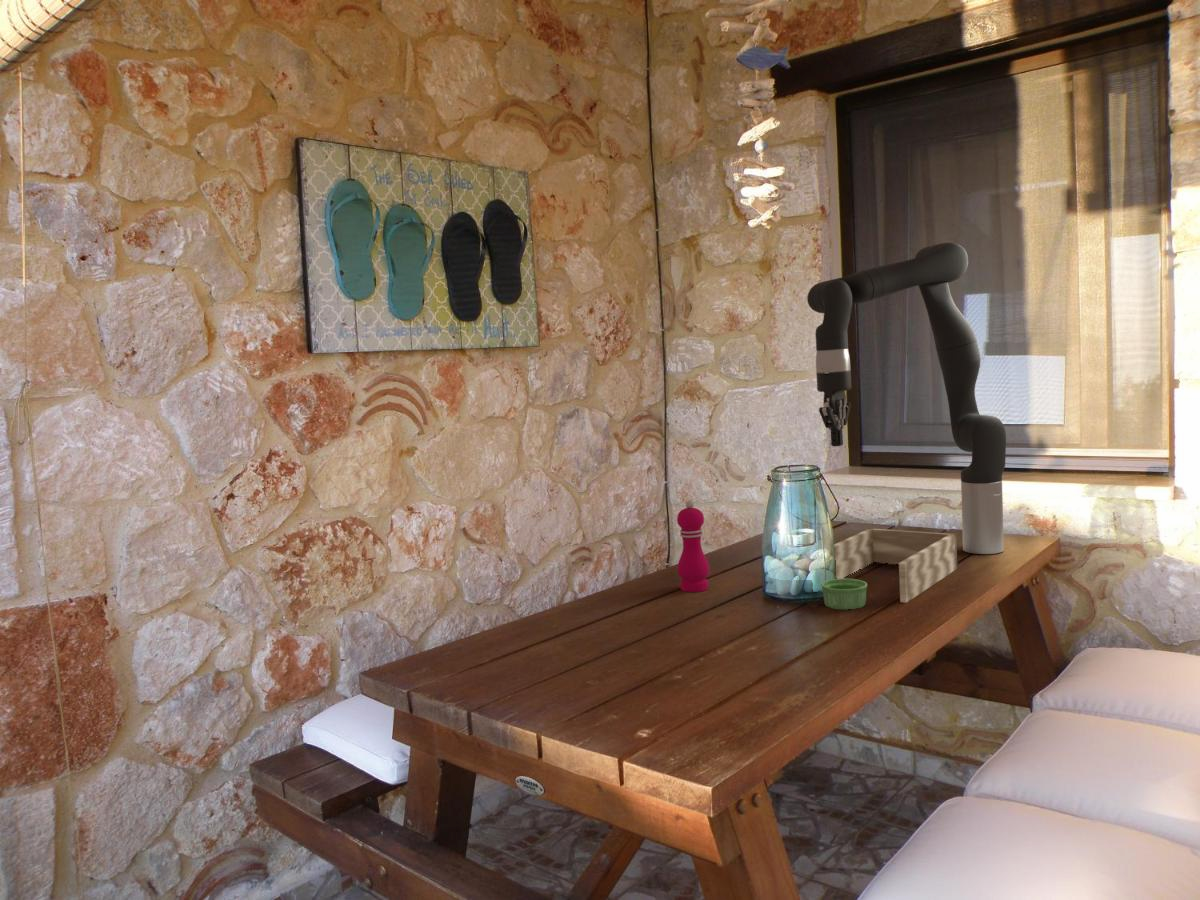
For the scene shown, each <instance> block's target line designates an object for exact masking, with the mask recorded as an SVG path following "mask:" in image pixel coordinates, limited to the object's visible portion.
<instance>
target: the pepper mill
mask: <svg viewBox="0 0 1200 900" xmlns="http://www.w3.org/2000/svg"><path fill="white" fill-rule="evenodd" d="M685 506H686V508H683V509H681V510H680V511H679V512H678V514H677V518H676V522H677V524H678V526H679V528H680V530H679V532H680V534H679V535H680V537H681V538H682V552H681V555H680V557H679V560H678V564H677V568H676V569H677V572H676V573H677V575H678V576H679V577H680V578H681V579H682V580H681V581H680V582H679V583H680V584H679V585H680V587H679V588H680V590H681V591H682V592H686V593H687V592H688V593H698V592H705V591H706V590H708V589H709V580H708V579H706V578H707V577H708V575H709V574H710V572H711V571H710V570H711V569H710V564H709V562H708V559H707V557H706V556H705V553H704V551H703V549H702V543H701V540H702V536H703V535H704V533H703V529H702V526H703V524H704V522H705V517H704V514H703V511H701V510H700V509H699V508H696V507H694V502H693V501H692V500H688V501H687V502H685Z"/></svg>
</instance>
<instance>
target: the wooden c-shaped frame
mask: <svg viewBox="0 0 1200 900" xmlns="http://www.w3.org/2000/svg"><path fill="white" fill-rule="evenodd" d="M957 543H958V542H957V533H947V532H931V531H916V530H915V531H914V530H900V529H898V530H897V529H885V528H883V529H882V528H867V529H865V530H863V531H860V532H859V533H856V534H855V535H852V536H850V537H848V538H846V539H844V540H841V541H839V542H836V543H834V544H833V545H834V547H835V560H836V578H837V579H843V578H844V577H846V576H848V575H849V574H851V575H853V574H855V573H857V572H859V571H860V570H859V569H861V570H863V569H864V568H867V567H868V566H870V565H872V564H874V563H873V562H877V563H876V564H885V563H888V564H887V565H896V564H898V565H897V566H898V574H899V577H898V578H899V600H900V601H899V602H900V603H904V604H905V603H906V604H907V603H908V602H910V601H912V600H913V599H915V598H916V597H917V596H919V595H920V594H922V593H923V592H925V591H926V590H928V589H929V588H931V587H933V586H934V585H935V584H937V583H938V582H940V581H941V580H943V579H944V578H947V576H948V575H950V574H952V573H953V572H954V571H956V570H957V569H958V551H957V550H958V548H957V547H958V546H957ZM878 562H879V563H878ZM871 563H872V564H871ZM869 564H870V565H869ZM867 565H868V566H867ZM858 570H859V571H858ZM856 571H857V572H856ZM854 572H855V573H854ZM852 573H853V574H852ZM849 576H850V575H849ZM849 576H848V577H849ZM846 578H847V577H846ZM844 579H845V578H844Z"/></svg>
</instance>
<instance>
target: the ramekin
mask: <svg viewBox="0 0 1200 900" xmlns="http://www.w3.org/2000/svg"><path fill="white" fill-rule="evenodd" d="M821 586H822V589H823V590H822V593H823V600H824V601H823V602H824V605H825V606H826V607H827V608H830V609H834V610H843V611H844V610H845V611H849V610H848V609H851V610H858V609H861V608H863V607H864V606H865V605H866V601H867V589H868V583H867V581H864V580H861V579H856V578H843V579H831V580H827V581H824V582H823V583H822V584H821ZM857 608H858V609H857Z"/></svg>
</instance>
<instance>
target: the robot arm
mask: <svg viewBox="0 0 1200 900" xmlns="http://www.w3.org/2000/svg"><path fill="white" fill-rule="evenodd" d="M968 266H969V256H968V253H967V251H966V249H965V248H964V247H963V246H961V245H959V244H958V243H955V242H941V243H938V244H933V245H929V246H925V247H923V248H921V249H919V250H918V252H916V254H915V257H914V258H911V259H907V260H903V261H899V262H893V263H889V264H884V265H883V264H882V265H879V266H875V267H872V268H871V267H870V268H867V269H864V270H861V271H858V272H854V273H852V274H850V275H847V276H843V277H837V278H834V279H829V280H825V281H820V282H817V283H815V284H814V285H813V286H812V287H811V288H810V289H809V291H808V293H807V297H806V298H807V304H808V306H809V307H810V309H811V310H813V312H816V313H819V314H823V321H822V323H821V324H819V325H818V326H817V327H816V329H815V351H816V355H815V368H816V369H815V370H816V371H815V372H816V375H815V376H816V390H817V391H818V392H820V393H823V407H821V406H819V408H818V412H819V415H820V417H821V419H822V421H823V424H824V426H825V429H828V430H829V431H830V442H831V443H830V444H831V447H841V446H843V445H844V438H843V436H844V435H843V429H844V427H845V426H847V424H848V421H849V420H848V418H849V415H850V411H851V407H852V404H851V402H847V397H846V392H845V391H850V390H852V374H851V373H852V371H851V358H850V357H851V356H850V352H849V337H848V327H849V325H850V324H849V323H850V321H851V320H850V319H851V313H852V307H853V305H856V304H863V303H867V302H870V301H874V300H877V299H880V298H883V297H886V296H889V295H892V294H896V293H898V292H902V291H904V290H907V289H910V288H913V287H918V288H919V291H920V294H921V296H922V300H923V302H924V305H925V308H926V312H927V316H928V321H929V323H930V328H931V331H932V335H933V340H934V344H935V349H936V354H937V359H938V363H939V365H940V369H941V374H942V377H943V382H944V387H945V388H944V389H945V392H946V397H947V402H948V410H949V411H948V412H949V418H950V419H949V420H950V426H951V427H950V428H951V433H952V438H953V440H954V443H955V445H956V446H957V447H958V448H959V449H960V450H961V451H964V452H967V453H971V462H970V464H969V466H966V467H964V468H962V469H961V471H960V485H961V486H960V487H961V488H960V489H961V521H962V523H961V524H962V550H963V552H965V553H970V554H977V555H978V554H979V555H992V554H994V555H995V554H1000V553H1003V552H1004V549H1005V548H1004V547H1005V545H1004V544H1005V543H1004V541H1005V540H1004V505H1003V504H1004V503H1003V499H1004V498H1003V473H1004V471H1005V468H1006V460H1007V459H1006V455H1007V451H1006V449H1007V434H1006V428H1005V425H1004V423H1003V422H1002V420H1001V419H1000V418H998V417H996V416H994V415H986V414H981V413H980V412H979V408H978V404H977V399H976V392H975V391H976V384H977V380H978V376H979V371H980V368H981V353H980V349H979V345H978V340H977V336H976V334H975V331H974V328H972V326H971V324H970V322H969V321H968V320H967V319H966V317H965V316H964V314H962V312H961V311H960V310H959V308H958V306H956V304H955V302H954V300H953V297H952V295H951V290H950V287H949V283H952V282H954V281H957V280H958V279H960V278H961V277H962V276H964V274H965V272H967V269H968Z"/></svg>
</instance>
